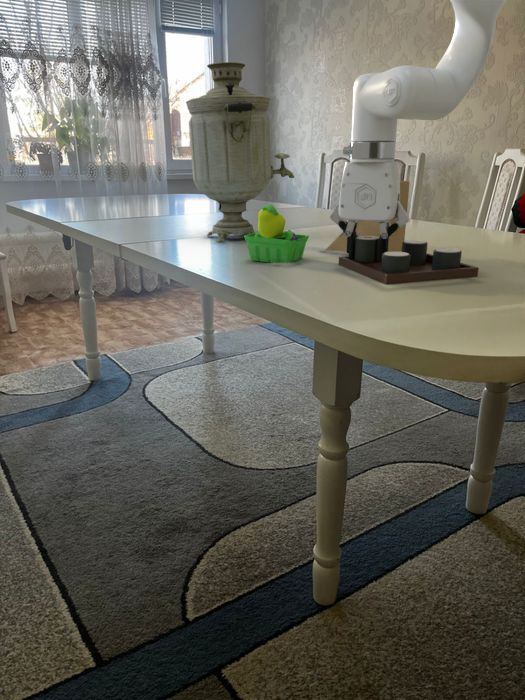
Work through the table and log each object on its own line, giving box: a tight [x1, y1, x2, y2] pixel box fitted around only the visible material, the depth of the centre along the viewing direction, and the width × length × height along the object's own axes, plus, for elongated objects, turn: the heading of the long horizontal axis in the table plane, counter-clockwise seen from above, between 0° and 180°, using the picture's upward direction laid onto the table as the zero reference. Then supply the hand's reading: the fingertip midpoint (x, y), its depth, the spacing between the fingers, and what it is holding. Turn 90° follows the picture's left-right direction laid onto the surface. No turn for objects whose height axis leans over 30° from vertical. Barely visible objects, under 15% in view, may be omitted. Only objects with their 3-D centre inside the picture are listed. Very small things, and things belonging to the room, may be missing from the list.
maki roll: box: [354, 236, 379, 262], centre depth 99 cm, size 5×5×4 cm
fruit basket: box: [243, 204, 310, 264], centre depth 107 cm, size 11×9×11 cm
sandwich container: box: [325, 180, 410, 252], centre depth 117 cm, size 9×15×15 cm, turn 49°
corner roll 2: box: [401, 239, 428, 266], centre depth 102 cm, size 5×5×4 cm
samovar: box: [185, 61, 295, 243], centre depth 133 cm, size 30×26×40 cm
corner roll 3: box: [432, 247, 463, 270], centre depth 93 cm, size 5×5×4 cm
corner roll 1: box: [381, 251, 411, 274], centre depth 91 cm, size 5×5×4 cm
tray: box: [338, 252, 480, 286], centre depth 97 cm, size 18×18×2 cm
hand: (366, 257), depth 100 cm, fingers closed on maki roll, 4 cm apart
